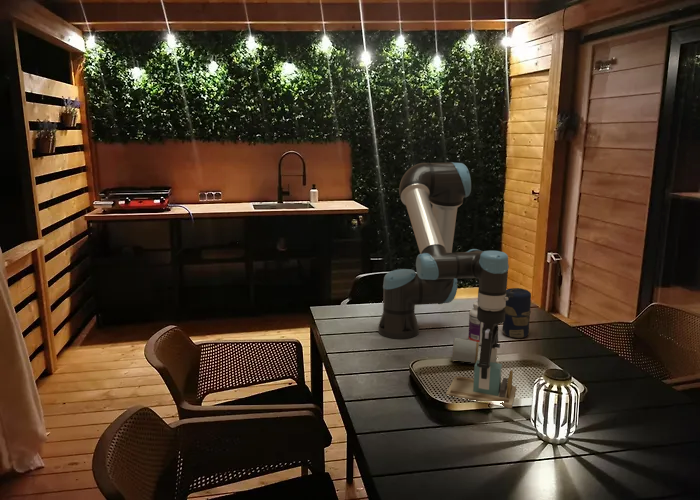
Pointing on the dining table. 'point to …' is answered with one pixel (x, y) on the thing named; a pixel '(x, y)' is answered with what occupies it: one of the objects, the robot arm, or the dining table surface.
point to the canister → (517, 313)
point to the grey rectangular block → (465, 350)
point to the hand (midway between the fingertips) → (487, 378)
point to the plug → (494, 379)
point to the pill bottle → (475, 325)
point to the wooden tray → (464, 389)
